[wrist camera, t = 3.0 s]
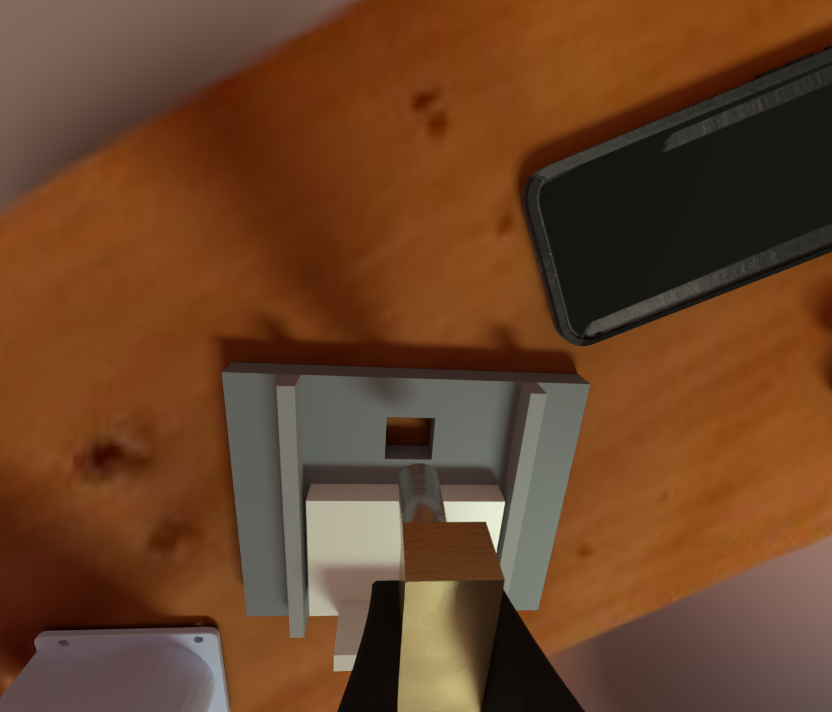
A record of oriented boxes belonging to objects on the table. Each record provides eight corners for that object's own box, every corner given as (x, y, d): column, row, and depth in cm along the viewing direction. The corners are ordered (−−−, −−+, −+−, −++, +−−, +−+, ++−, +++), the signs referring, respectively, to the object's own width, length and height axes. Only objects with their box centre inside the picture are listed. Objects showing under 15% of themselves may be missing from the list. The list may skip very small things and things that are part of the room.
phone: (899, 225, 17) (568, 354, 18) (869, 224, 18) (557, 346, 19) (911, 12, 14) (520, 174, 15) (874, 25, 15) (511, 176, 16)
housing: (253, 595, 22) (239, 639, 20) (232, 362, 18) (209, 383, 15) (530, 591, 24) (546, 630, 22) (578, 374, 19) (604, 395, 17)
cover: (313, 594, 21) (299, 672, 17) (310, 483, 19) (293, 547, 15) (480, 591, 22) (499, 665, 18) (498, 485, 19) (523, 546, 16)
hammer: (389, 541, 16) (392, 763, 10) (395, 411, 14) (405, 581, 8) (437, 540, 17) (472, 758, 10) (450, 412, 15) (505, 579, 8)
